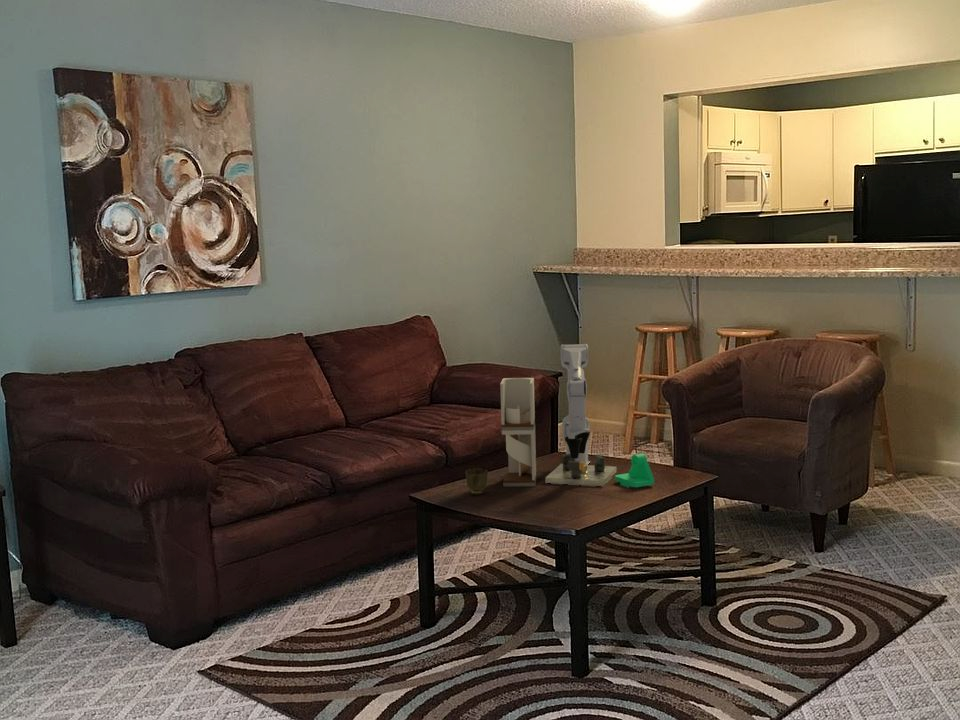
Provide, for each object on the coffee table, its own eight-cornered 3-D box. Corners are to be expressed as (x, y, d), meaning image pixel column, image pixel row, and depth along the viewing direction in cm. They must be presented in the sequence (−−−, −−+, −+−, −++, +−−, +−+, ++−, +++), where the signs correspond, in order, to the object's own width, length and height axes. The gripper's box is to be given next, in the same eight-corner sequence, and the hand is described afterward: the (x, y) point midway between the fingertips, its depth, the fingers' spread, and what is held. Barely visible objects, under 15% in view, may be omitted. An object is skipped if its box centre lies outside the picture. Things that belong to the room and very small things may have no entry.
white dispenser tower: (505, 477, 368) (502, 378, 363) (536, 477, 367) (533, 377, 362) (503, 486, 357) (500, 383, 352) (534, 486, 356) (532, 383, 351)
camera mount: (614, 483, 358) (613, 453, 356) (632, 479, 361) (632, 450, 360) (635, 490, 347) (635, 460, 346) (654, 487, 351) (653, 456, 349)
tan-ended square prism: (567, 477, 358) (567, 462, 357) (570, 474, 361) (570, 460, 361) (582, 478, 356) (582, 463, 355) (585, 475, 360) (585, 461, 359)
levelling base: (561, 469, 378) (560, 450, 377) (616, 472, 371) (616, 452, 370) (545, 483, 359) (544, 463, 358) (603, 486, 352) (603, 466, 351)
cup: (493, 493, 348) (492, 469, 347) (477, 498, 343) (476, 474, 342) (477, 489, 354) (476, 466, 353) (461, 494, 349) (460, 470, 348)
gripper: (582, 420, 347) (583, 461, 349) (594, 412, 361) (595, 451, 362) (561, 419, 350) (562, 459, 352) (574, 411, 363) (575, 450, 365)
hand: (578, 455), depth 357 cm, fingers open, 7 cm apart
